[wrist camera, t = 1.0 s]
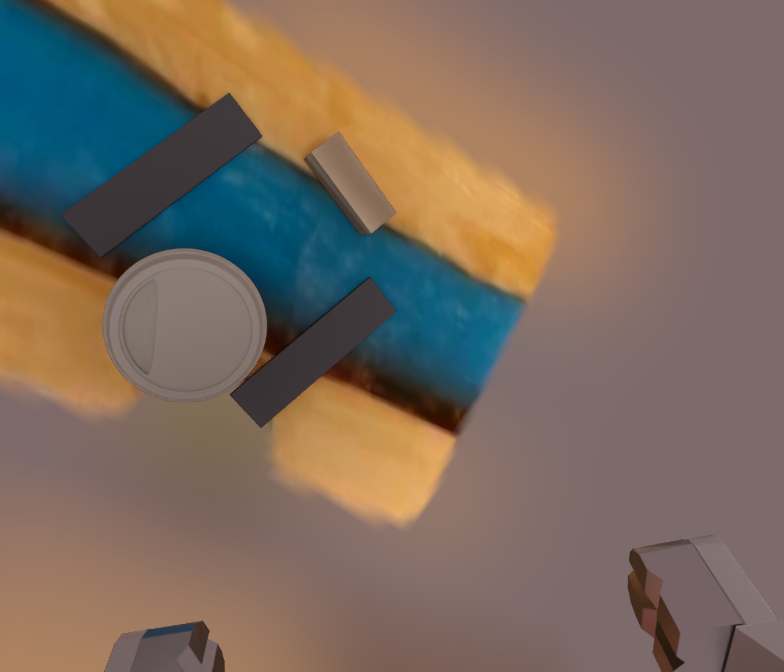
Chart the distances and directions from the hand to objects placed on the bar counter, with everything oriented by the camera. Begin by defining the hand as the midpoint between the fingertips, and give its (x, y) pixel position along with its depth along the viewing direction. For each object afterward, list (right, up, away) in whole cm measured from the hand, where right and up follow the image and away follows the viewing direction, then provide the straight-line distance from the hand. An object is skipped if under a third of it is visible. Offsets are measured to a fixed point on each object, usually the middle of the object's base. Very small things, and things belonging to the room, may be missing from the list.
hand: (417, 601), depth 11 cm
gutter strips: (-11, +10, +31) cm, 34 cm away
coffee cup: (-15, +7, +30) cm, 34 cm away
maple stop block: (-4, +16, +32) cm, 36 cm away
